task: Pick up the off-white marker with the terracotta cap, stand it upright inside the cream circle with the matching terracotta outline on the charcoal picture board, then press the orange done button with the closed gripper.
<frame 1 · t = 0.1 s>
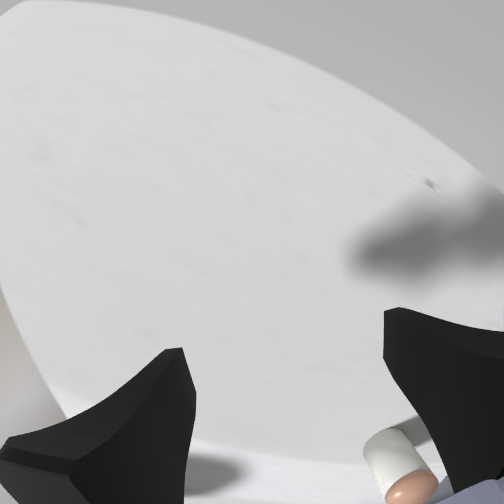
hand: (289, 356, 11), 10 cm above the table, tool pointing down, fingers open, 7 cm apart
picture board: (469, 487, 23), on the table
marker: (384, 445, 22), on the table
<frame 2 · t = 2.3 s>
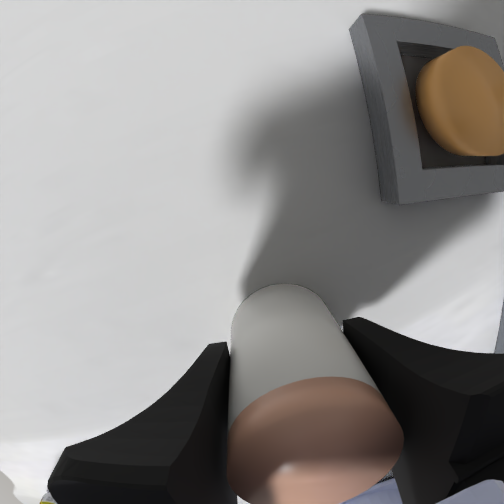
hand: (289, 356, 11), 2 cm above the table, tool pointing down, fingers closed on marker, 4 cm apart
done button: (470, 102, 9), point 2 cm above the table, slide at 0.0 cm
done button housing: (440, 110, 11), on the table
marker: (282, 331, 12), on the table, touching gripper
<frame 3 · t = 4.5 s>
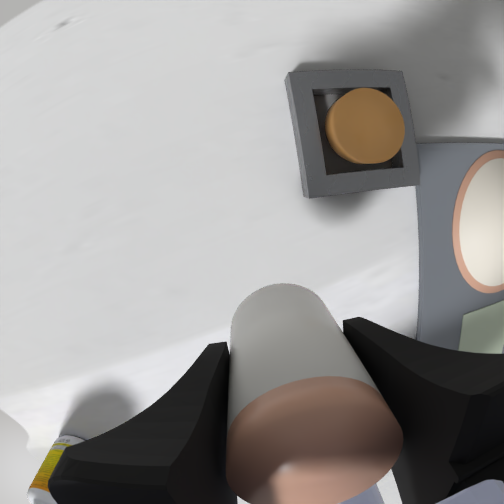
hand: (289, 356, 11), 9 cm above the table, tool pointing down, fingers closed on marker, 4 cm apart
done button: (364, 126, 15), point 2 cm above the table, slide at 0.0 cm
supplement bottle: (82, 451, 23), on the table
picture board: (487, 273, 20), on the table
done button housing: (351, 131, 17), on the table
marker: (281, 330, 12), point 7 cm above the table, touching gripper
when the fingers open (4 cm above the table, at t = 7.2 s): marker drops 1 cm, resting on picture board.
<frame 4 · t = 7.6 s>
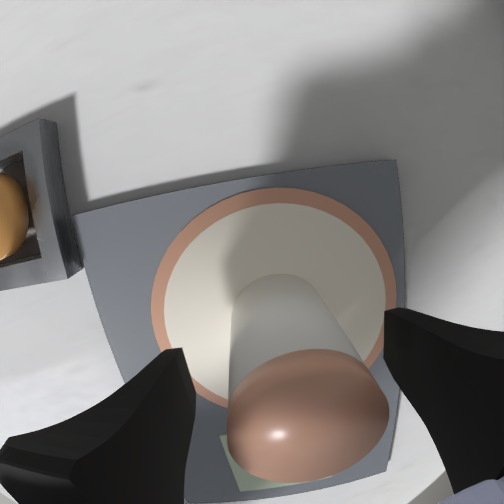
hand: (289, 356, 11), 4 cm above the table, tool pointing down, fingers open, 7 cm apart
picture board: (267, 386, 15), on the table
done button housing: (13, 212, 13), on the table
marker: (278, 318, 13), point 1 cm above the table, touching picture board
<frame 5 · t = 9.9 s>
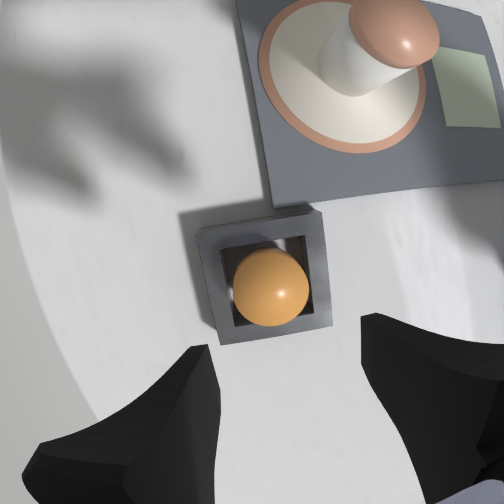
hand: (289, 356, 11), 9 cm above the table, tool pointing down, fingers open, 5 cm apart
done button: (269, 286, 18), point 2 cm above the table, slide at 0.0 cm
picture board: (403, 84, 17), on the table
done button housing: (266, 275, 20), on the table
marker: (349, 66, 16), point 1 cm above the table, touching picture board
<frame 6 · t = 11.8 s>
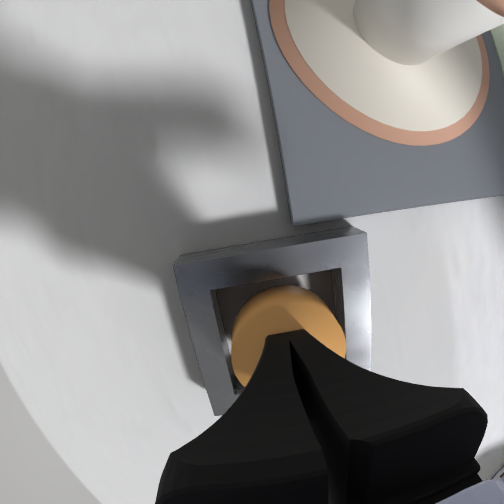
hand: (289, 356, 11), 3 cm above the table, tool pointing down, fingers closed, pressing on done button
done button: (286, 344, 11), point 2 cm above the table, slide at 0.1 cm, touching gripper
picture board: (461, 58, 11), on the table
done button housing: (280, 321, 13), on the table
marker: (396, 24, 10), point 1 cm above the table, touching picture board
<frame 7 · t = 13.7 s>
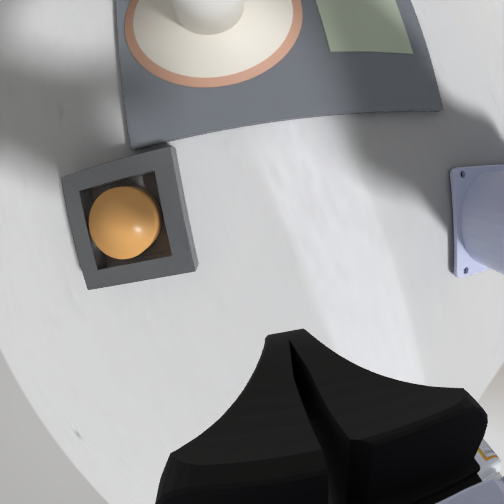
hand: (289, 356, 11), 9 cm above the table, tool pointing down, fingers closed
done button: (125, 221, 17), point 1 cm above the table, slide at 1.0 cm
supplement bottle: (442, 431, 25), on the table
picture board: (278, 18, 16), on the table
done button housing: (131, 218, 18), on the table
marker: (210, 8, 15), point 1 cm above the table, touching picture board
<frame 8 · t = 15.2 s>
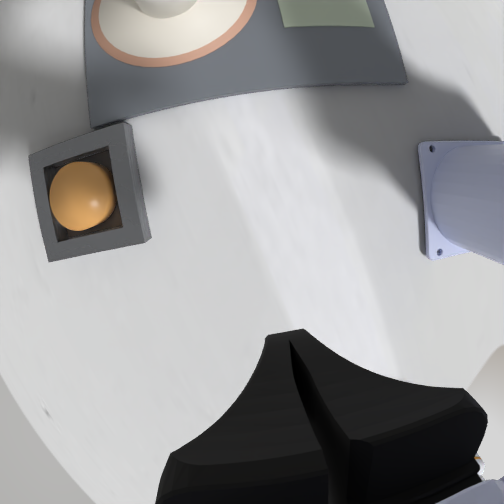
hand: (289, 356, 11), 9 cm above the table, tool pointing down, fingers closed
done button: (83, 195, 17), point 1 cm above the table, slide at 1.0 cm
done button housing: (90, 194, 18), on the table
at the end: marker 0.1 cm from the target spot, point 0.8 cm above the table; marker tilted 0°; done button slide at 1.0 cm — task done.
